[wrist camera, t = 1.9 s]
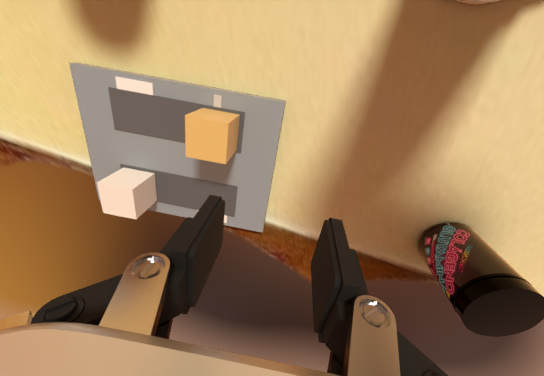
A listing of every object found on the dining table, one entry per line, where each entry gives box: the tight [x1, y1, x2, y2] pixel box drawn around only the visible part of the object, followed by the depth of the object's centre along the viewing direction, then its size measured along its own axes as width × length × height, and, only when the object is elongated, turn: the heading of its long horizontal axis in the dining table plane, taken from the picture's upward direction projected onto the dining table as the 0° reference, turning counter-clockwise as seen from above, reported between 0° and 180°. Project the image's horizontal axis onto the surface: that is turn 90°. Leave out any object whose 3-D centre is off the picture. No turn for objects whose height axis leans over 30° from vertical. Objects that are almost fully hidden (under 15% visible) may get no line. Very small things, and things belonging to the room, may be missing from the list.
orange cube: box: [185, 108, 240, 164], centre depth 24 cm, size 4×4×4 cm
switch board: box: [69, 63, 286, 232], centre depth 29 cm, size 23×17×1 cm
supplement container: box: [418, 222, 544, 336], centre depth 26 cm, size 7×7×10 cm
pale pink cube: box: [97, 167, 157, 219], centre depth 28 cm, size 4×4×4 cm
